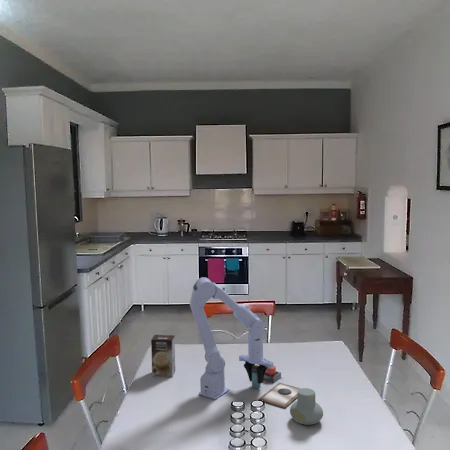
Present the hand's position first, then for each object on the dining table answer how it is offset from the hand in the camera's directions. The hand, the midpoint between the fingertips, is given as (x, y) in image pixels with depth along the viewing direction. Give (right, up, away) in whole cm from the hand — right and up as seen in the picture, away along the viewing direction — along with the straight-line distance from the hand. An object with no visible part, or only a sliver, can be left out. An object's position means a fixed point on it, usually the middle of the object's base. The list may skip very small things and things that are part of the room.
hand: (256, 381), depth 172 cm
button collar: (+7, -1, +8) cm, 10 cm away
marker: (0, -2, 0) cm, 2 cm away
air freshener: (+15, -4, -25) cm, 30 cm away
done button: (+7, 0, +8) cm, 10 cm away
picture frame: (+9, -3, -8) cm, 12 cm away
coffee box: (-38, -2, +14) cm, 41 cm away
